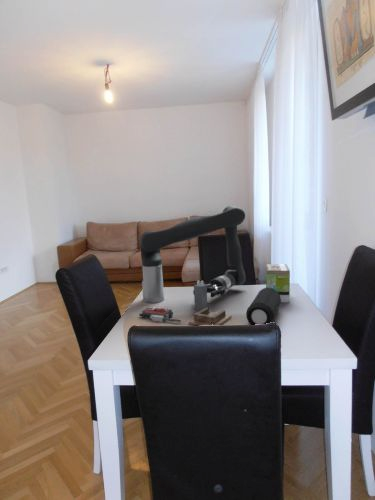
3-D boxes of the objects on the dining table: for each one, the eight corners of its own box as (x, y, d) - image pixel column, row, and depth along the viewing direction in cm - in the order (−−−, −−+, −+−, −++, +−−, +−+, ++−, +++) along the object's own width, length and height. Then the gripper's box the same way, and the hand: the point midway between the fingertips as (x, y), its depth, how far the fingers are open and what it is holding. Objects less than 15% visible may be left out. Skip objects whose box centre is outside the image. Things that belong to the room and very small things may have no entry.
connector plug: (194, 310, 152) (193, 281, 150) (199, 307, 155) (198, 279, 153) (203, 311, 150) (201, 282, 148) (207, 309, 153) (206, 280, 151)
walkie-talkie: (136, 320, 145) (179, 325, 137) (135, 309, 144) (179, 314, 136) (147, 313, 153) (189, 317, 144) (146, 303, 152) (188, 307, 144)
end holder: (188, 324, 137) (188, 315, 136) (205, 313, 147) (204, 305, 147) (215, 329, 130) (215, 320, 129) (231, 317, 141) (231, 309, 140)
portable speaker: (258, 308, 151) (257, 285, 150) (281, 309, 148) (281, 286, 146) (245, 330, 128) (244, 303, 127) (272, 333, 124) (272, 305, 123)
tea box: (290, 302, 156) (290, 270, 153) (267, 302, 158) (266, 270, 155) (287, 293, 170) (286, 263, 168) (265, 293, 172) (265, 263, 170)
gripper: (206, 275, 169) (188, 283, 156) (233, 278, 162) (216, 287, 148) (207, 291, 171) (189, 300, 157) (234, 294, 163) (217, 304, 149)
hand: (202, 293), depth 153 cm, fingers open, 8 cm apart
